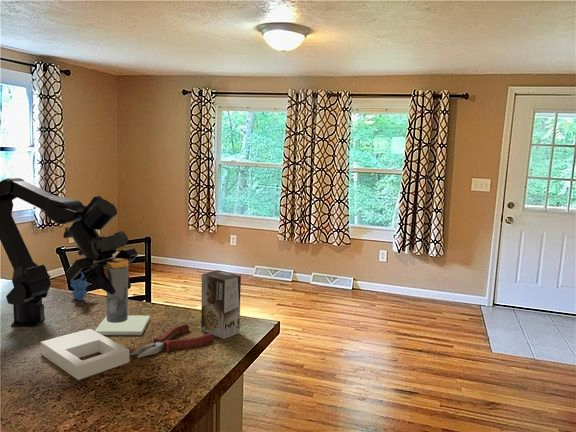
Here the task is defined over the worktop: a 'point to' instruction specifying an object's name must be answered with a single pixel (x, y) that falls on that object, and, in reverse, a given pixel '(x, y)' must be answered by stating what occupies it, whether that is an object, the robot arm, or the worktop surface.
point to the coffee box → (220, 303)
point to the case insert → (84, 353)
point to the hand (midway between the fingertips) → (121, 290)
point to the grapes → (79, 288)
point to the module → (117, 290)
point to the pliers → (172, 342)
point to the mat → (124, 326)
